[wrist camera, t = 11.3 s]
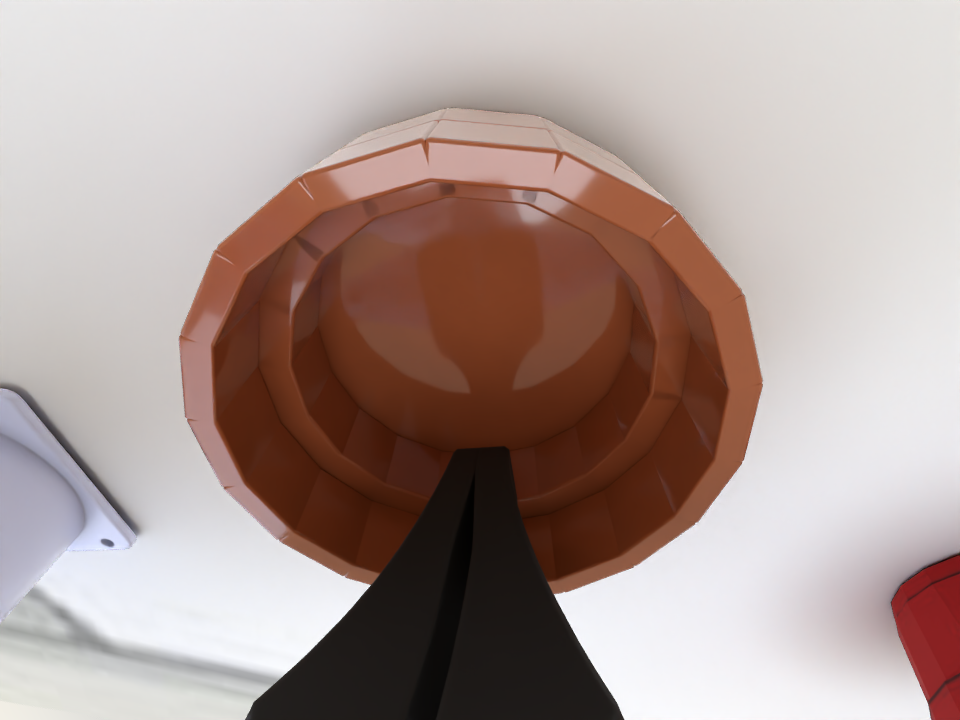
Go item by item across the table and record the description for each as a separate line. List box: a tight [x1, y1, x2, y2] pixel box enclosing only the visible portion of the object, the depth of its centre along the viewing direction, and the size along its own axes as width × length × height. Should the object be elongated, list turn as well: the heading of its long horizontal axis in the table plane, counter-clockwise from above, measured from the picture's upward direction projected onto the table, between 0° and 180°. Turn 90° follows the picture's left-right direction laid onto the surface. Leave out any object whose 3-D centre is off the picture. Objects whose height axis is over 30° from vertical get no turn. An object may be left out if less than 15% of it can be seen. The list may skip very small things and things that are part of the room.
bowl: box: [179, 108, 763, 594], centre depth 12 cm, size 11×11×5 cm
